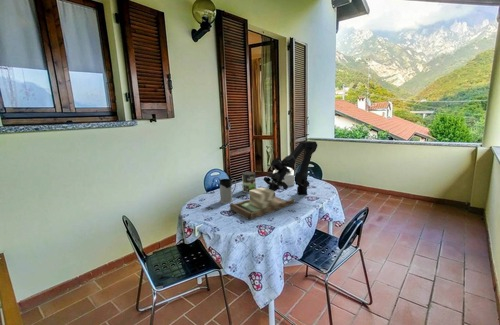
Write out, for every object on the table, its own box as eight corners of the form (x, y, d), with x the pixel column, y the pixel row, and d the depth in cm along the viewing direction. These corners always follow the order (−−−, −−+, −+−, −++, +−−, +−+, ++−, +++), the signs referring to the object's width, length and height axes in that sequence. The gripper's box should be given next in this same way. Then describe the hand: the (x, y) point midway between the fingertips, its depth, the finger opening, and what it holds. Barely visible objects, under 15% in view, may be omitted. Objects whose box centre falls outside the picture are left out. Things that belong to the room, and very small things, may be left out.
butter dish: (272, 185, 202) (271, 166, 199) (273, 179, 219) (273, 162, 216) (294, 185, 199) (294, 166, 196) (293, 179, 216) (293, 162, 213)
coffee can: (258, 191, 189) (257, 173, 186) (246, 193, 185) (245, 175, 182) (252, 187, 198) (251, 170, 195) (240, 190, 194) (239, 172, 191)
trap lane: (273, 196, 176) (273, 190, 176) (294, 203, 161) (294, 197, 160) (230, 209, 155) (230, 203, 155) (249, 219, 140) (248, 213, 139)
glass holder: (217, 201, 171) (216, 180, 168) (232, 196, 181) (231, 176, 178) (225, 204, 165) (224, 182, 162) (240, 198, 175) (239, 178, 172)
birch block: (263, 199, 165) (262, 186, 163) (274, 204, 156) (273, 190, 154) (249, 203, 158) (249, 190, 156) (260, 208, 150) (260, 194, 148)
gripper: (265, 165, 167) (252, 184, 162) (284, 169, 152) (271, 190, 148) (273, 174, 173) (262, 193, 168) (293, 179, 158) (281, 200, 154)
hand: (268, 193), depth 159 cm, fingers closed, pressing on birch block
